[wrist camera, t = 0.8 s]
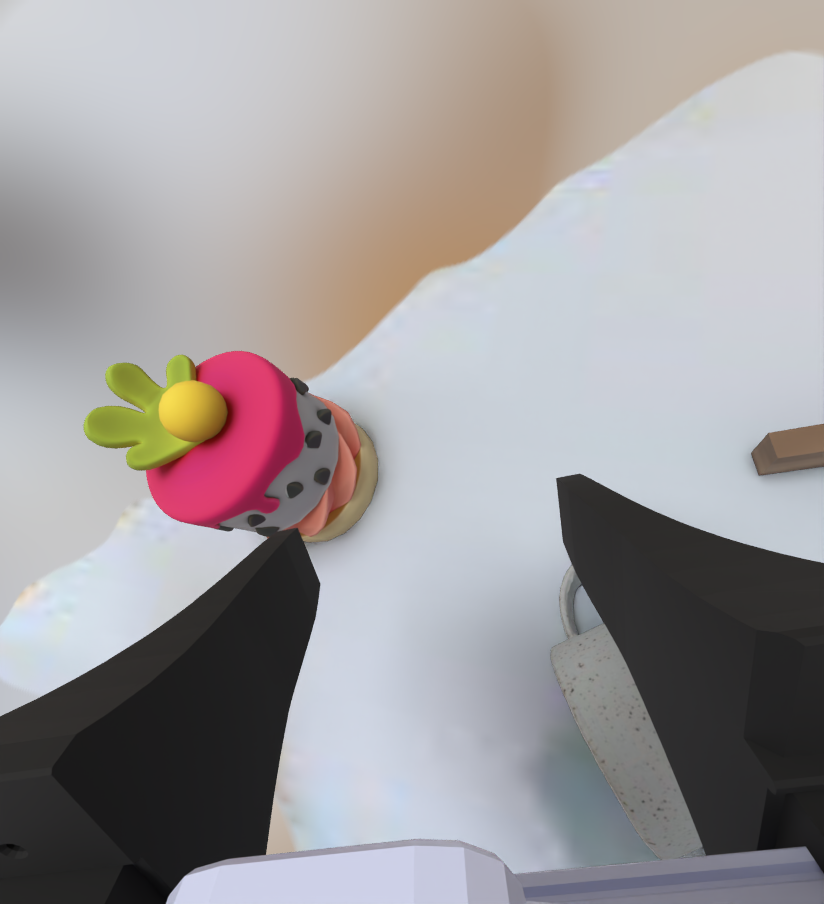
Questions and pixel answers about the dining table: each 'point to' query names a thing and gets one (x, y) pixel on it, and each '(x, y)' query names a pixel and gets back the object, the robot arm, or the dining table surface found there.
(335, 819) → the dining table surface
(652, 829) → the ceramic mug
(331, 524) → the cake
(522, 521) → the dining table surface
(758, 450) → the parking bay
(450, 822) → the dining table surface
